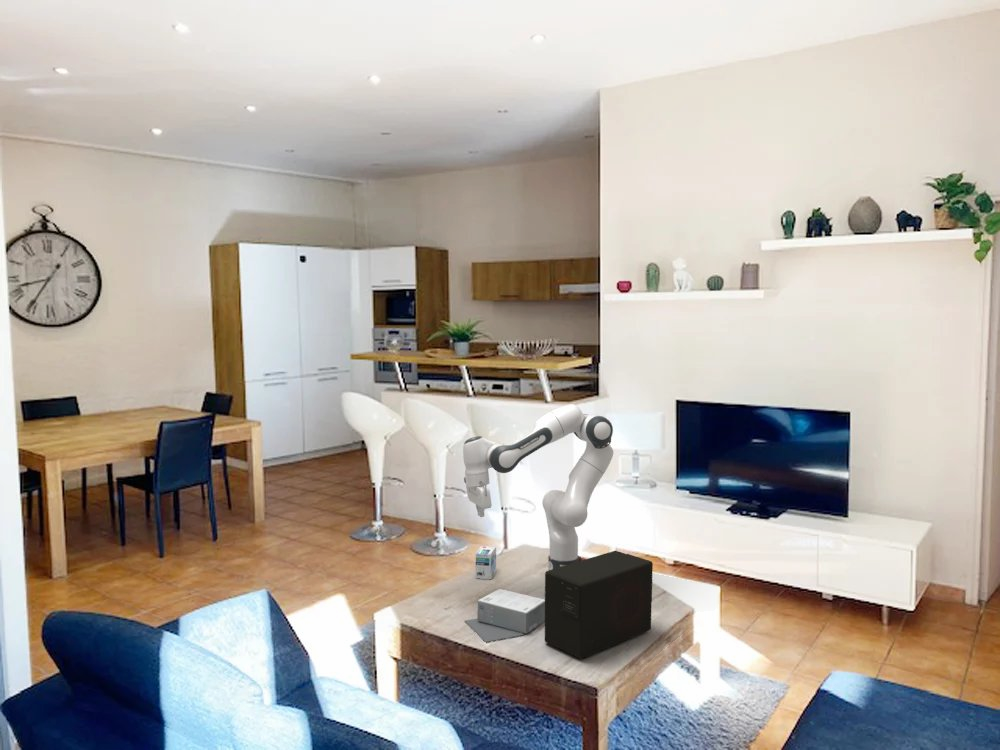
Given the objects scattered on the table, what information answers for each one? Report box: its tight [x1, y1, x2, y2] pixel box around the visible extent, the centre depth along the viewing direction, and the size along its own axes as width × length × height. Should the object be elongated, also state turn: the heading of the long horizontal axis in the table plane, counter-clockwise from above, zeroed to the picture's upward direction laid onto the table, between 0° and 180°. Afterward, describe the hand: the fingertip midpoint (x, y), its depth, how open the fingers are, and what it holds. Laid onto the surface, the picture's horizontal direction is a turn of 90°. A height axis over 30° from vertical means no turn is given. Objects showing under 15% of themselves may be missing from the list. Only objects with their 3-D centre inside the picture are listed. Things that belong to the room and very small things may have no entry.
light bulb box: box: [475, 545, 497, 580], centre depth 320 cm, size 11×7×11 cm, turn 168°
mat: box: [464, 618, 525, 643], centre depth 267 cm, size 14×19×1 cm
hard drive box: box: [476, 588, 545, 635], centre depth 273 cm, size 16×8×20 cm
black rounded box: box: [544, 550, 654, 660], centre depth 260 cm, size 38×20×25 cm, turn 130°
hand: (481, 516), depth 291 cm, fingers closed
